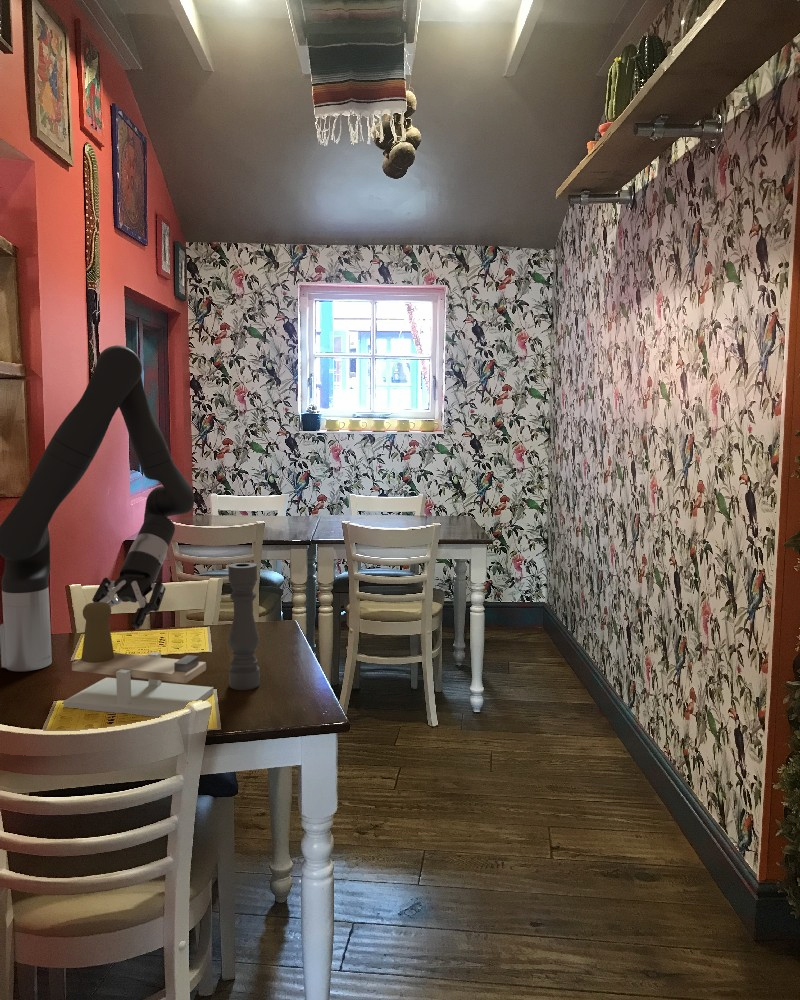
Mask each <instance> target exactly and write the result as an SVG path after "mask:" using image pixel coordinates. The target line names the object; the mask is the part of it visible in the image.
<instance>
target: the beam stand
mask: <svg viewBox="0 0 800 1000" xmlns="http://www.w3.org/2000/svg"><path fill="white" fill-rule="evenodd" d="M161 654H162V653H161V652H154V651H153V652H152V651H151V652H150V653H148V654H147V656H150V657H160V658H162V655H161ZM115 677H116V678H115ZM115 677H114V678H113V677H105V678H103V679H101V680H99V681H97V682H96V683H94V684H91V685H90V686H88V687H86V688H85V689H82V690H81V691H79V692H77V693H75V694H74V695H72V696H70V697H69V698H67V699H65V700H63V701H62V706H63V707H62V708H64V707H68V708H67V709H73V708H78V709H77V710H83V709H84V711H94V712H95V711H96V712H104V713H113V712H114V713H113V714H115V713H116V714H122V713H129V714H128V715H132V714H136V715H135V716H142V715H143V716H144V717H153V718H159V717H158V716H161V715H165V714H168V713H171V712H174V711H178V710H181V709H184V708H185V707H186V705H187V704H188V703H189V702H192V701H198V700H204V701H206V699H207V698H209V697H210V696H212V695H213V694H214V686H203V685H194V684H192V685H191V684H184V683H180V684H179V683H173V682H162V681H161V680H152V679H147V680H148V681H147V680H138V679H132V680H131V671H130V670H123V669H121V670H119V671H117V672H116V675H115ZM211 694H212V695H211Z"/></svg>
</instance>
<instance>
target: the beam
mask: <svg viewBox="0 0 800 1000" xmlns="http://www.w3.org/2000/svg"><path fill="white" fill-rule="evenodd" d="M81 659H82V657H81V658H79V659H77V660H75V661H73V662H71V671H73V672H81V673H82V672H83V673H89V674H90V673H91V674H101V675H106V676H108V675H110V676H116V672H117V671H119V670H121V669H123V670H130V671H131V680H134V679H135V678H136V679H144V680H148V679H152V680H161V681H163V682H169V683H178V684H179V683H180V684H187V683H189V682H190V681H191V680H194V679H195V678H196V677H198V676H199V675H200V674H202V673H203V672H205V671H206V670H207V662H206V661H199V660H200V658H199V655H189V654H186V655H185V656H183V657H182V658H180V659H177V658H169V657H161V658H160V657H150V656H148V655H141V654H131V653H130V654H129V653H119V652H114V658H113V659H111V660H109V661H105V662H100V663H88V662H84V661H82V660H81Z"/></svg>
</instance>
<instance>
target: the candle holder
mask: <svg viewBox="0 0 800 1000" xmlns="http://www.w3.org/2000/svg"><path fill="white" fill-rule="evenodd" d="M227 568H228V569H227V570H228V582H229V585H230V587H231V589H232V593H230V595H229V598H230V599H231V600H232V602H233V618H232V622H231V627H230V633H229V636H228V646H229V647H230V649H231V650H232V651H233V652H232V654H233V655H234V656H233V658H232V659H231V660H230V663H229V665H230V668H229V670H228V683H229V684H228V685H229V688H231V689H232V690H237V691H248V690H253V689H256V688H258V687H259V686H260V683H261V682H260V681H261V680H260V679H261V678H260V677H261V676H260V675H261V673H260V671H261V670H260V667H259V666H258V665H259V660H258V659H257V657H256V655H254V654H255V653H256V649H257V648H258V646H259V643H260V637H259V633H258V628H257V625H256V621H255V617H254V600H255V599H256V598H257V593H256V592H255V591H254V588H255V586H256V582H257V581H258V565H257V563H255V562H254V563H253V562H235V563H231V564H229V565H228V567H227Z"/></svg>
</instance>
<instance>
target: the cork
mask: <svg viewBox="0 0 800 1000" xmlns="http://www.w3.org/2000/svg"><path fill="white" fill-rule="evenodd" d="M107 603H108V602H107ZM107 603H105V602H93V601H92V602H89V603H87V604H85V606H84V607H83V609H82V616H83V619H84V620H85V627H84V633H83V634H84V635H83V643H82V650H81V651H82V652H81V658H82V659H81V658H80V659H81V660H82V661H84V662H88V663H100V662H105V661H109V660H111V659H113V658H114V653H115V652H114V647H113V645H114V644H113V640H112V634H111V628H110V622H109V621H110V620H109V619H110V617H111V615H112V607H110V605H109V604H107Z"/></svg>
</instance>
